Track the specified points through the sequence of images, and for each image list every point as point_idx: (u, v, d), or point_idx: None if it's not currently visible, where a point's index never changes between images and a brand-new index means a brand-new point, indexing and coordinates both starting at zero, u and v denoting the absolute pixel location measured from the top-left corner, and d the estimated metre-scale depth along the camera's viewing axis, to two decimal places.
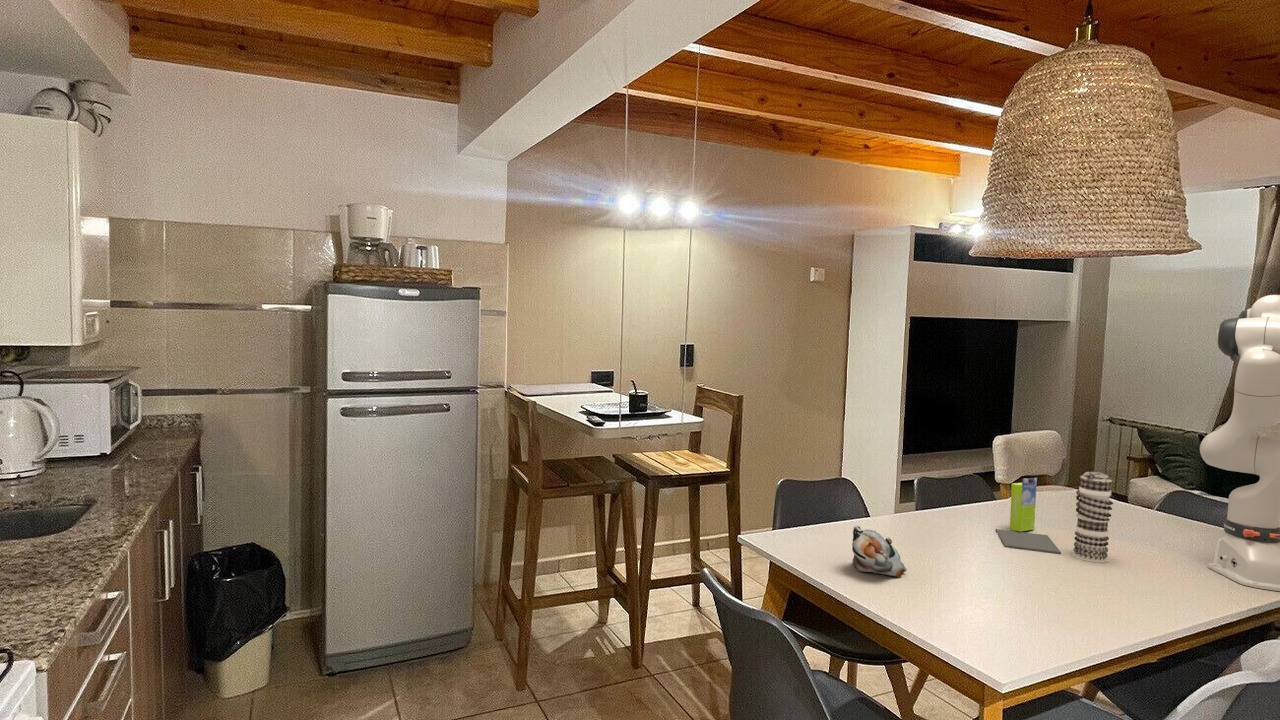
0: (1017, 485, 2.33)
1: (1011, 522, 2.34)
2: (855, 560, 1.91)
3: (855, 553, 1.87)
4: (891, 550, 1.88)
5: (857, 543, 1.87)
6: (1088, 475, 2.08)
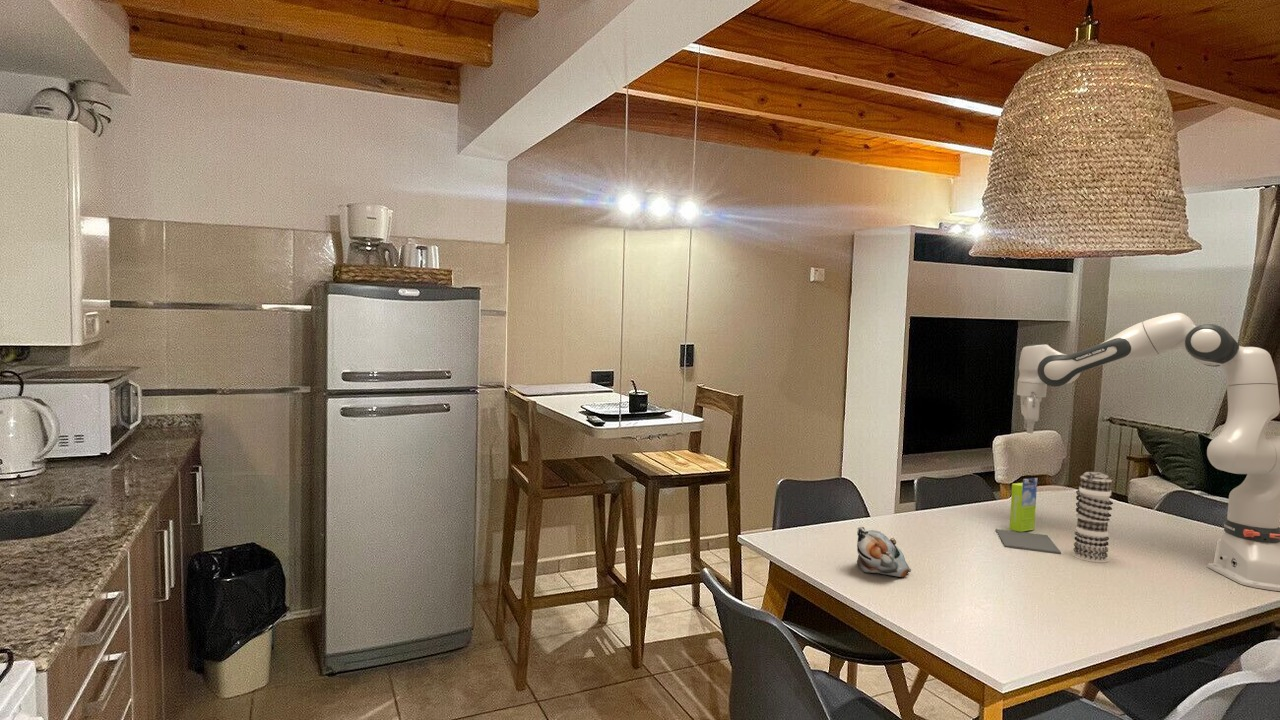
0: (1017, 485, 2.33)
1: (1011, 522, 2.34)
2: (860, 561, 1.90)
3: (860, 554, 1.87)
4: (896, 551, 1.88)
5: (862, 544, 1.86)
6: (1088, 475, 2.08)
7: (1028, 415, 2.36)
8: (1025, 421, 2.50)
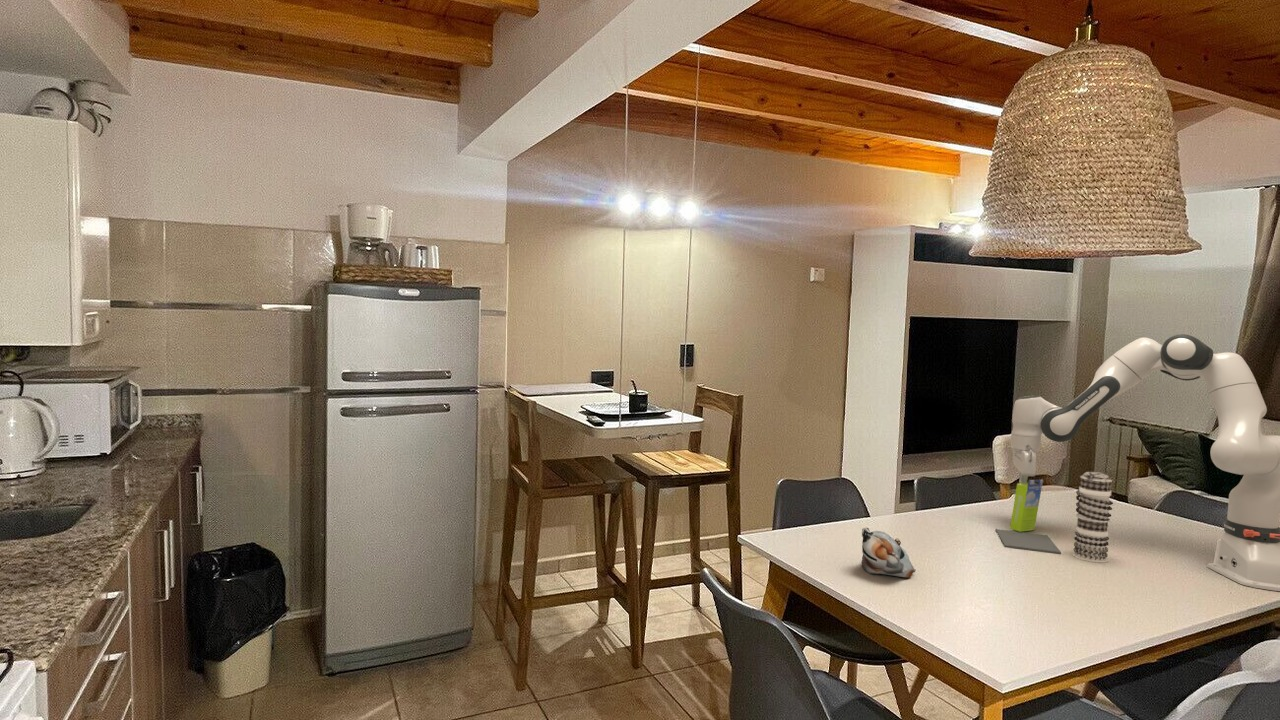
0: (1022, 486, 2.32)
1: (1012, 521, 2.34)
2: (864, 562, 1.90)
3: (866, 555, 1.86)
4: (901, 551, 1.88)
5: (868, 545, 1.85)
6: (1088, 475, 2.08)
7: (1025, 470, 2.31)
8: (1020, 476, 2.41)
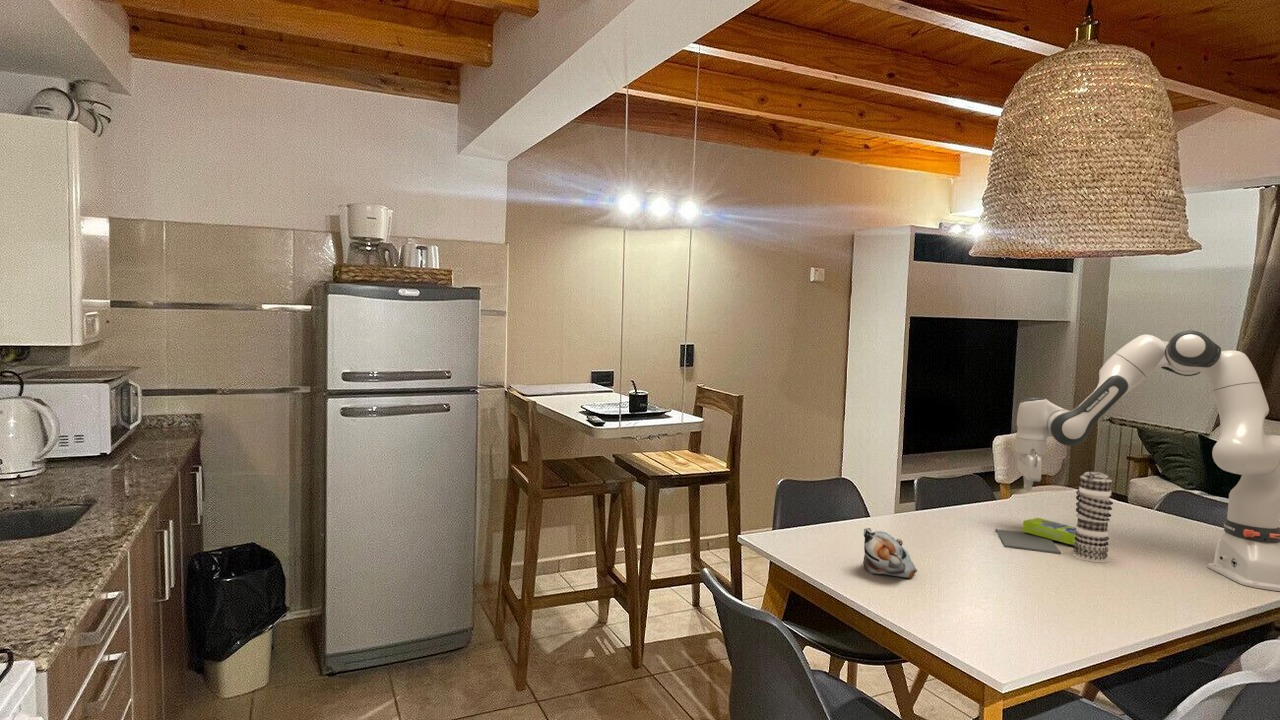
0: (1072, 540, 2.20)
1: (1031, 524, 2.29)
2: (866, 562, 1.90)
3: (868, 555, 1.86)
4: (902, 551, 1.88)
5: (870, 545, 1.85)
6: (1088, 475, 2.08)
7: (1030, 475, 2.23)
8: (1025, 480, 2.33)
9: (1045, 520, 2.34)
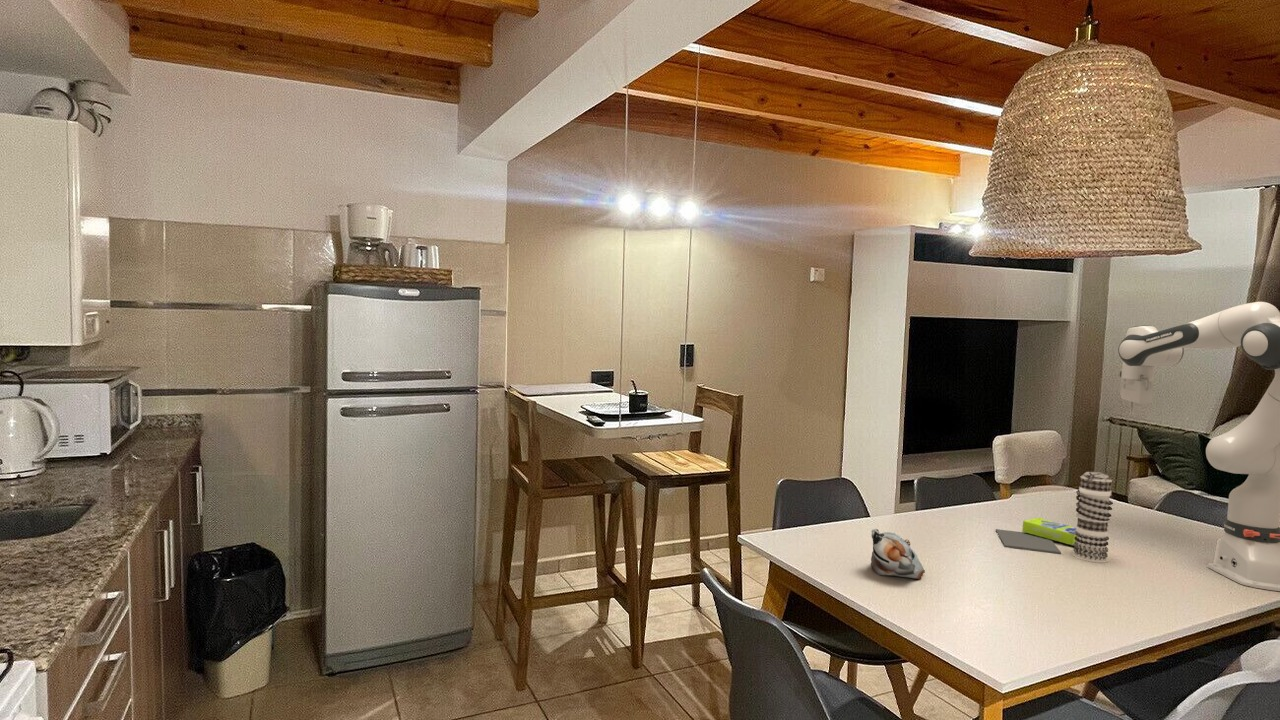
0: (1072, 540, 2.20)
1: (1031, 524, 2.29)
2: (875, 564, 1.89)
3: (877, 557, 1.85)
4: None
5: (879, 547, 1.84)
6: (1088, 475, 2.08)
7: (1141, 398, 2.30)
8: (1131, 407, 2.41)
9: (1045, 520, 2.34)
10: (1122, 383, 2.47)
